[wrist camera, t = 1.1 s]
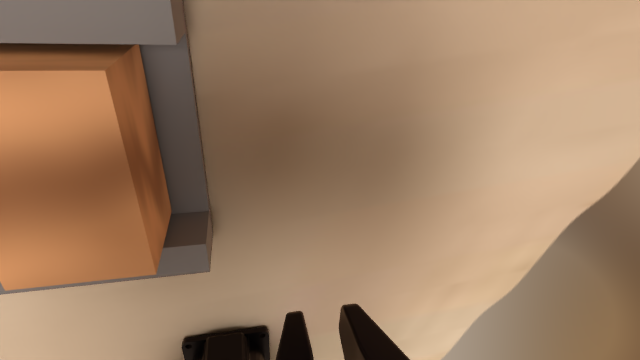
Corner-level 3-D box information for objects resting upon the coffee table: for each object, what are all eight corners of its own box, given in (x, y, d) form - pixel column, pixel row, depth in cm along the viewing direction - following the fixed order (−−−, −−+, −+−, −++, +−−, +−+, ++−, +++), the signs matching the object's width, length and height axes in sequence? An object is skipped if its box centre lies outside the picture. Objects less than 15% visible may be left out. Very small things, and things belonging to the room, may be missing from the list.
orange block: (171, 211, 21) (156, 274, 16) (54, 220, 20) (5, 290, 15) (138, 42, 16) (104, 70, 12) (-19, 40, 15) (-118, 71, 11)
